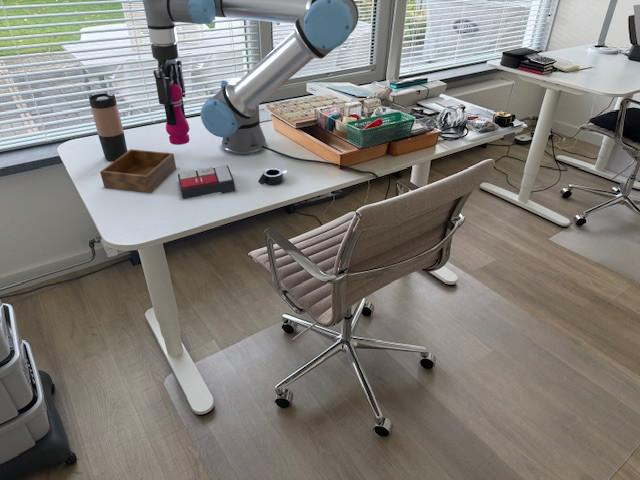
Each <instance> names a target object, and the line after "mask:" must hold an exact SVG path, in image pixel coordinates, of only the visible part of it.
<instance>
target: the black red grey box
mask: <svg viewBox="0 0 640 480" xmlns="http://www.w3.org/2000/svg"><path fill="white" fill-rule="evenodd" d="M177 177H178V183H179V188H180V193H181V198H182V199H183V200H187V199H192V198H197V197H202V196H207V195H213V194H217V193H221V194H228V193H234V192H236V184H235V180H234V177H233V174H232V172H231V169H230V166H229V165H228V164H222V165H218V166H214V167H213V166H208V167H202V168H197V169H191V170H190V169H189V170H185V171H180V172H179V173H178V174H177Z"/></svg>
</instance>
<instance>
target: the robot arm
mask: <svg viewBox="0 0 640 480" xmlns="http://www.w3.org/2000/svg"><path fill="white" fill-rule="evenodd" d="M142 4H143V7H144V14H145V19H146V23H147V24H146V25H147V33H148V35H149V42H150V43H151V45H150V49H151V54H152V58H153V59H155V60H156V61H157V70H155V69H153V71H152V72H153V76H154V79H155V85H156V92H157V99H158V104H159V105H163V106H164V112H165V118H166V122H167V124H168V125H177V123H176V117H175V111H174V104H172V98H171V81H172V80H173V83H174V84H177V85H178V86H180V88H181V90H182V96H181V98H180V99H181V100H182V101H181V102H182V105H181V110H182V113H183V115H184V117H185V118H186V112H185V111H186V110H185V105H184V100H183V98H186V95H187V94H186V87H185V79H184V73H183V67H182V65H183V63H182V60H177V59H178V58H179V57H180V50H179V44H178V43H177V42H178V36H177V30H176V29H177V28H176V23H185V24H196V25H209V24H212V23H213V22H214V19H215V18H227V19H239V20H249V21H261V22H270V23H282V24H292V25H294V31H292V32H291V33H290V34H289V35H288V36H286V38H285V39H284V40H282V41H281V42H280V43H279V44H278V45H276V47H274V48H273V50H271V51H270V52H269V53H268V54H266V56H265V57H263V58H262V59H261V60H260V61H259V62H258V63H257V64H256V65H255V66H253V68H251V69H250V70H249V71H248V72H247V73H246V74H245V75H244V76H243V77H232V78H224V79H222V80H221V82H220V88H221V89H220V90H219V91H218V92H217V93H216V94H215V95H213V96H212V97H211V98H210V99H207V100H206V101H205V102H204V104H203V105H202V107H201V109H200V120H201V123H202V124H203V127H204V128H205V129H206V130H207V131H208V132H209V133H210V134H212V135H213V136H215V137H219V138H222V140H221V147H222V150H223V151H224V152H225V153H227V154H230V155H233V156H234V155H235V156H251V155H255V154H259V153H261V152H264V151H265V150H267V151H270V152H272V153H274V154H277V155H280V156H282V157H286V158H288V159H291V160H296V161H301V162H307V163H309V162H310V163H317V164H324V165H329V166H330V165H331V166H336V167H341V168H344V169H347V170H349V171H354V172H357V173H360V174H370V175H373V176H374V177H375V178H376V179H380V176H379V175H378V174H377V173H375V171H370V170H360V169H357V168H354V167H351V166H348V165H345V164H341V165H339V164H340V163H336V162H330V161H324V160H317V159H306V158H301V157H300V158H299V157H295V156H292V155H289V154H285V153H283V152H281V151H278V150H275V149H273V148H270V147H268V146H267V139H266V137H265V134H264V132H263V128H262V126H261V121H260V106H259V105H260V104H262V103H263V102H264V101H265V100H266V99H267V98H269V97H270V96H271V95H272V94H273V93H274V92H275V91H277V90H278V89H279V88H281V86H283V85H284V84H285V83H286V82H287V81H289V80H290V79H291V78H293V76H295V74H297V73H299V71H301V69H303V68H304V67H305V66H306V65H308V64H309V63H310V62H312V61H313V60H314V59H319V60H322V59H324V58H325V57H326V56H327V55H329V54H330V53H331V52H332V51H334V50H335V49H336V48H339V47H340V46H342V45H343V44H345V42H346V41H347V40H348V39H349V37H350V36H351V34H352V33H353V32H354V30H355V29H356V27H357V25H358V22H359V15H360V14H359V8H358V5H357V2H356V1H355V0H142Z"/></svg>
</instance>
